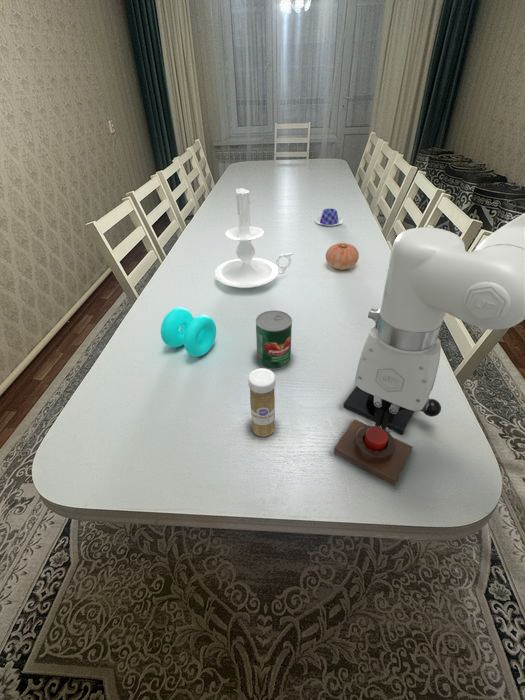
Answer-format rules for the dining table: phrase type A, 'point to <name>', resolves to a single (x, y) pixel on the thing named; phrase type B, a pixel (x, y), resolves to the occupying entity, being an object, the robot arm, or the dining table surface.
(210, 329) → the turquoise yoyo
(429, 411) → the lever
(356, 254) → the orange round vegetable
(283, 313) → the canned tomato
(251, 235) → the candlestick
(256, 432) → the sprinkles bottle
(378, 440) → the button
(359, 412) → the bracket
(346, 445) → the button block
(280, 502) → the dining table surface
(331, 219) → the pudding
